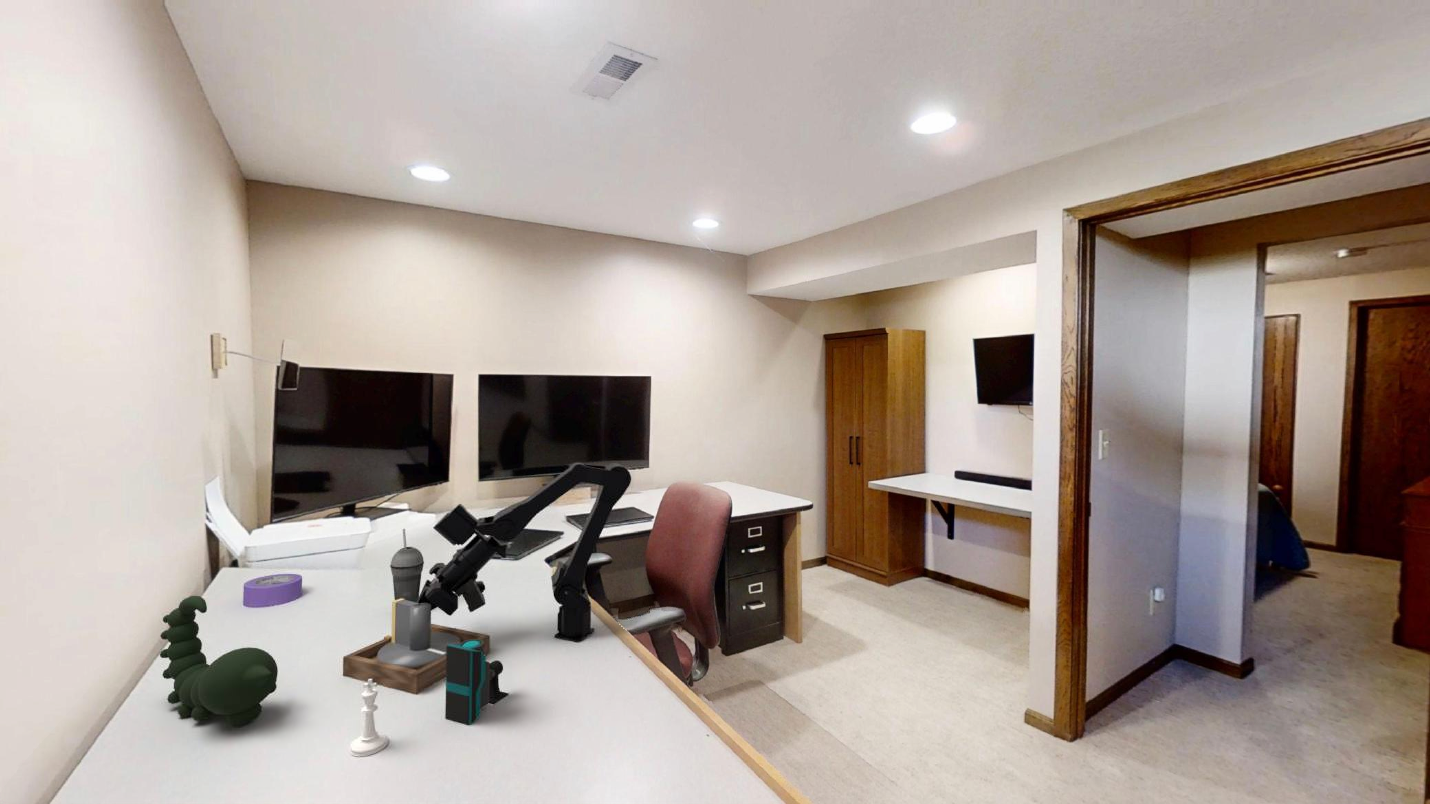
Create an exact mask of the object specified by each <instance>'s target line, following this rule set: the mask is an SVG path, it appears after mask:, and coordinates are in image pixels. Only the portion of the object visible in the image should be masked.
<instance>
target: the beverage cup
mask: <svg viewBox="0 0 1430 804" xmlns="http://www.w3.org/2000/svg"><path fill="white" fill-rule="evenodd" d="M406 538H407V537H406V529H405V528H402V539H403V548H400V549H398V550H397V551H396V552H395V554H393V556H392V559H391V561H390V564H389V565H390V566H389V568H390V570H391V575H392V583H393V584H392V585H393V596H394V601H395V600H398V599H401V598H402V599H405V600H407V601H411V602H417V600H418V598H419V596H420V589H421V583H422V582H421V580H422V572H423V569H424V564H425V561H424V557H423V554H422V552H421V551H420V550H419V549H418V548H416V547H414V546H407V539H406Z"/></svg>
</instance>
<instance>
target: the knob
mask: <svg viewBox="0 0 1430 804" xmlns="http://www.w3.org/2000/svg"><path fill="white" fill-rule="evenodd" d="M431 624H432V611H431V604H430V603H416V602H411V601H407V600H405V599H402V598H401V599H398V600H395V599H394V600H392V601H391V636H392V640H391V642H390V643H388V644H386V645H385V646H383V647H382V648H381V649H380V650H379V651H378V654H377V661H380V662H384V663H389V664H393V665H397V666H401V667H405V668H410V669H414V670H419V669H420V668H422V667H424V666H426V665H428V664H430V663H432V662H434V661H436V660H438V659H439V658H441V657H443V656H445V655H446V645H448V644H453V645H458V646H459V644H460V638H459V637H458V636H456V635H454V634H451V633H445V632H431Z"/></svg>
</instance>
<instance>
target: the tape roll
mask: <svg viewBox="0 0 1430 804" xmlns="http://www.w3.org/2000/svg"><path fill="white" fill-rule="evenodd" d="M242 593H243V596H242V597H243V598H242V605H243V606H244V607H247V608H256V609H257V608H259V609H260V608H269V607H275V605H276V606H280V605H284V604H288V603H292V602H294V601H296V599H297V600H298V599H300V598H301V597H302V593H303V576H302V575H301V574H298V573H297V574H296V573H277V574H272V575H271V574H270V575H264V576H259V577H256V578H252V579H250V580H248V581H246V582H244V583H243V591H242ZM291 601H292V602H291Z"/></svg>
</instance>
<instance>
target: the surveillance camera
mask: <svg viewBox="0 0 1430 804" xmlns="http://www.w3.org/2000/svg"><path fill="white" fill-rule="evenodd" d="M503 670H504V665H503V663H502V662H501V661H500V660H493V661H492V662H489V661H487V660H486V655H484V641H483V640H481V639H470V640H466V641H463V642H461V643H460V644H459V646H458V645H453V644H448V645H446V678H445V713H444V714H445V716H444V718H445V720H447V721H452V722H454V723H458V724H460V725H461V724H462V725H464V726H471V725H472V724H473V723H475V721H477V720H478V718H479V717H480V716H481V710H482V709H483V708H485V707H486V706H488V705H489V704H490V705H494V706H495V705H496V704H497V703H499V702H500V701H501V700H503V699H505V698H506V697H507V696H509V692H506V691H502V690H501V689H500V685H499V675H501V674H502V673H503Z"/></svg>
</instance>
